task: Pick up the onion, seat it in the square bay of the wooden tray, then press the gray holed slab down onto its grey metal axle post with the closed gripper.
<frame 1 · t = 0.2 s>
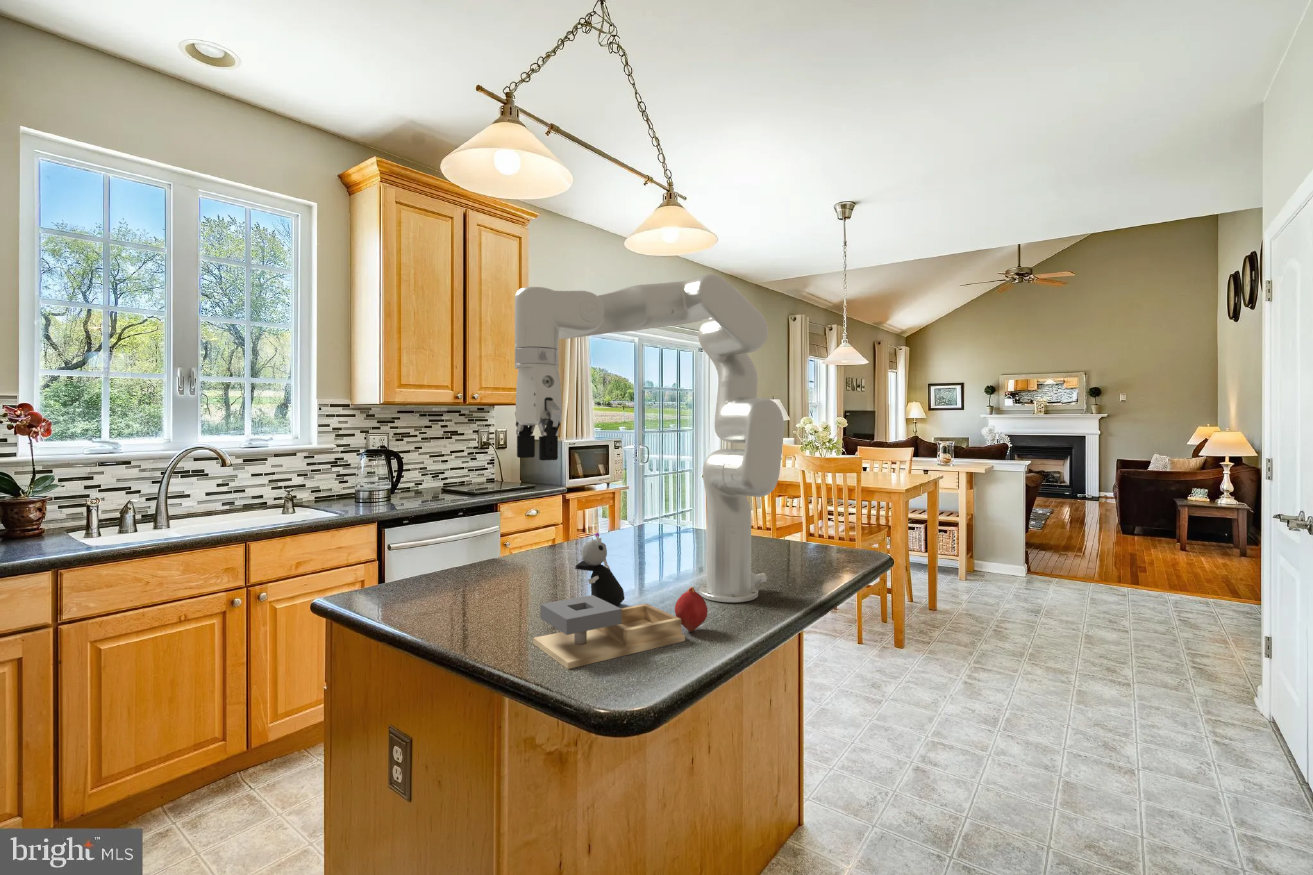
hand: (536, 458, 108), 31 cm above the countertop, fingers open, 9 cm apart
wooden tray: (609, 642, 105), on the countertop
toy: (601, 610, 123), on the countertop
gray holed slab: (580, 613, 102), point 6 cm above the countertop, slide at 0.0 cm
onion: (690, 632, 111), on the countertop
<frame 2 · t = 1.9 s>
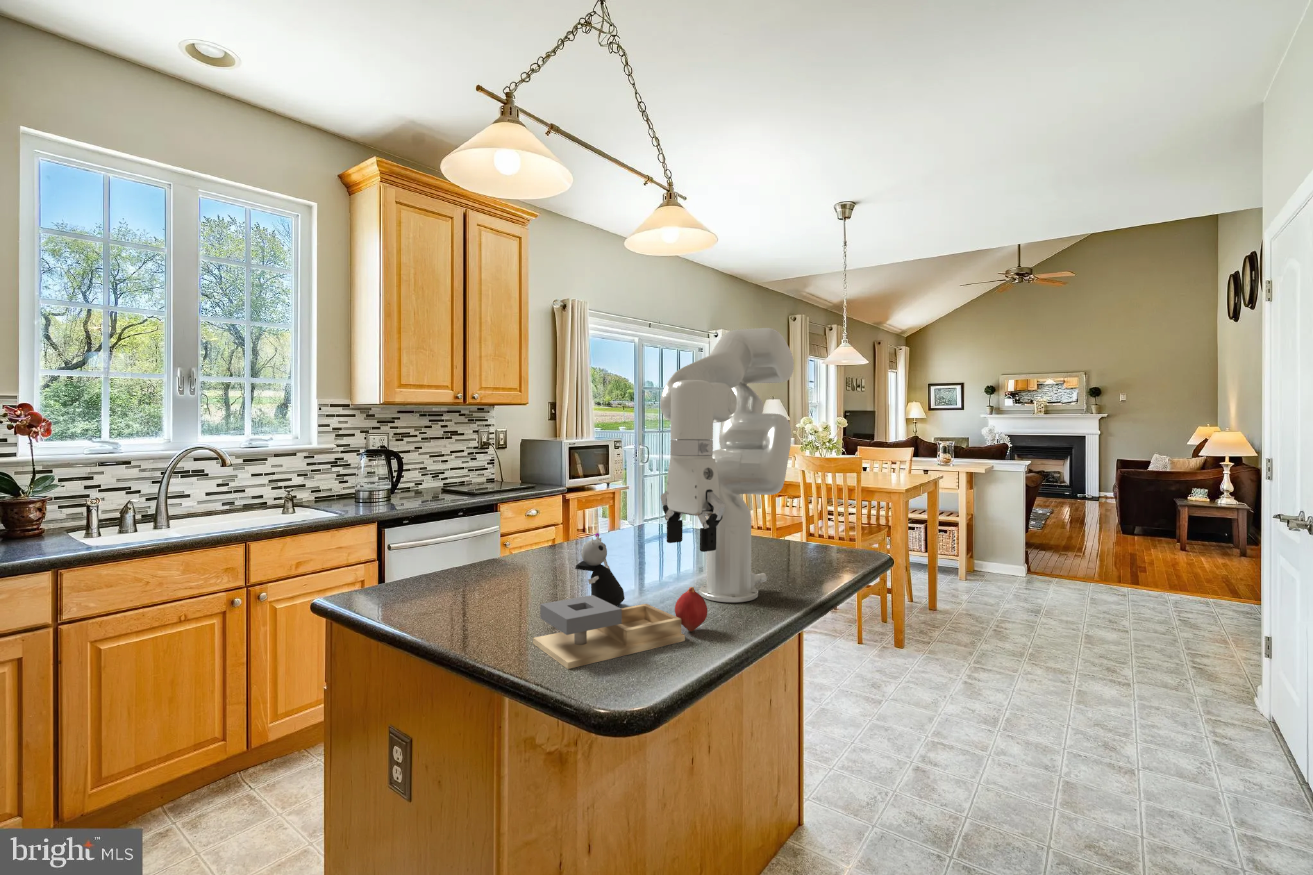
hand: (690, 546, 110), 15 cm above the countertop, fingers open, 9 cm apart
nothing on the countertop moved.
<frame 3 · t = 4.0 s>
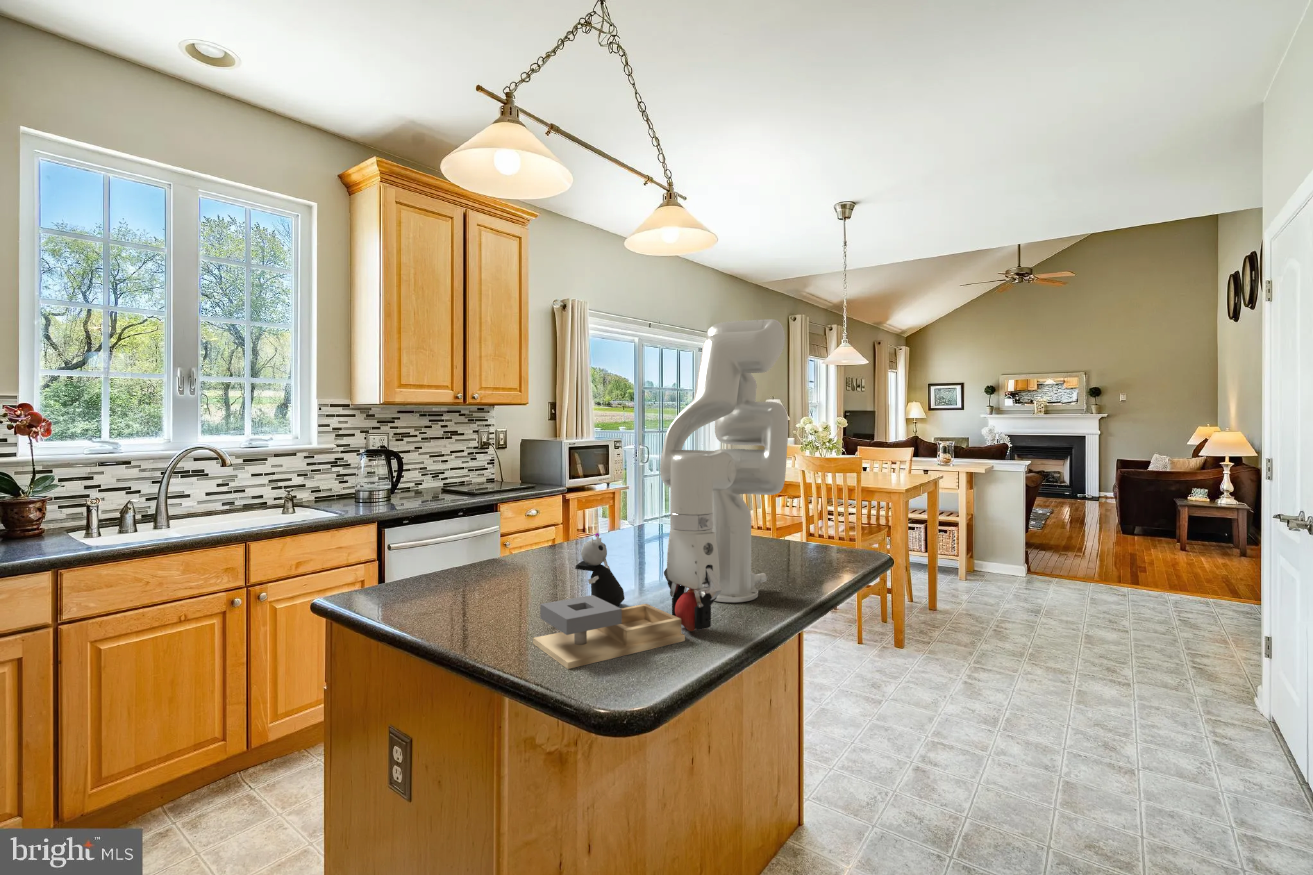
hand: (691, 622, 111), 2 cm above the countertop, fingers closed on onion, 5 cm apart
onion: (690, 632, 111), on the countertop, touching gripper
everything else where it was.
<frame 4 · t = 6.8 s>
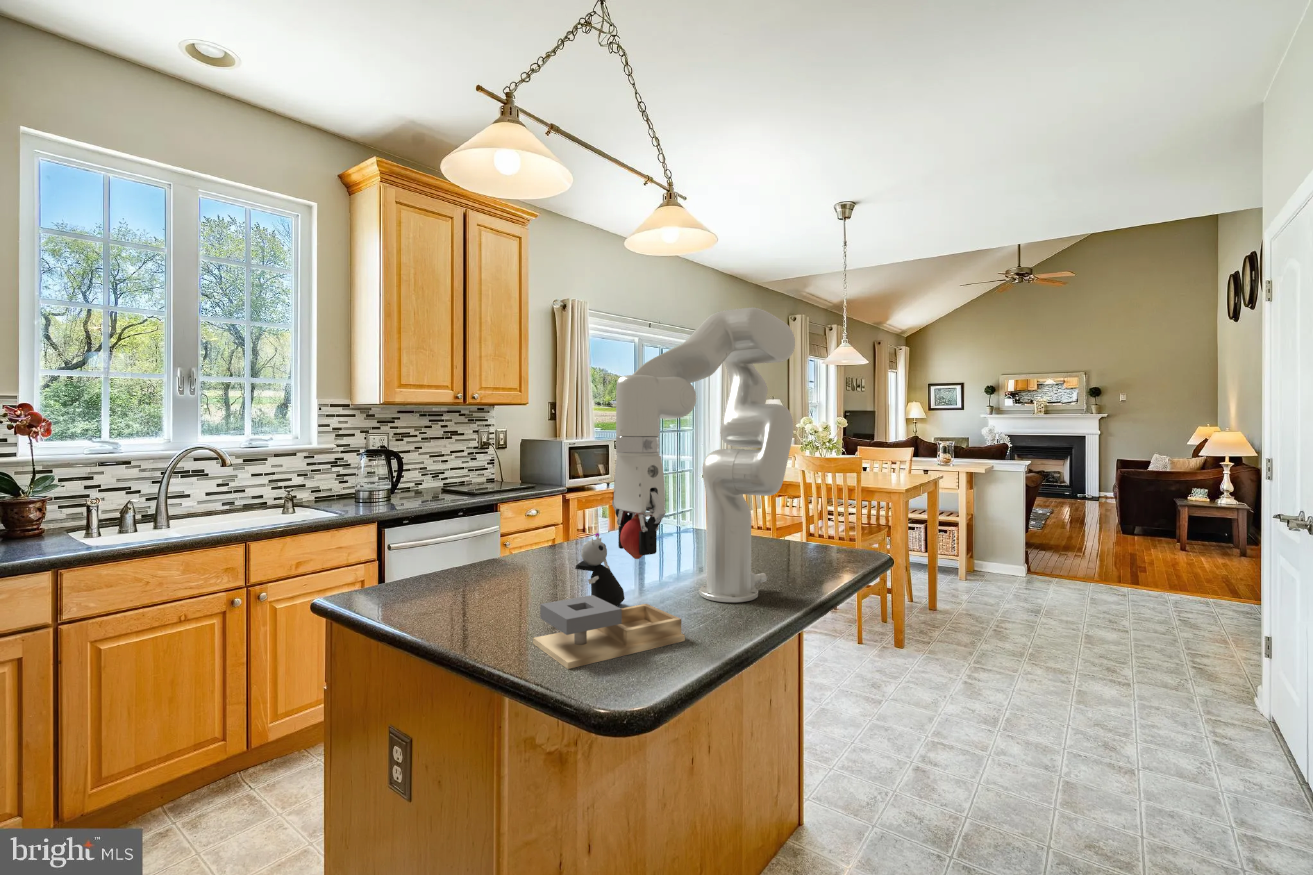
hand: (637, 549, 108), 15 cm above the countertop, fingers closed on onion, 5 cm apart
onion: (636, 560, 108), point 13 cm above the countertop, touching gripper
everything else where it was.
when the fingers open (4 cm above the countertop, at t = 9.5 s): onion drops 1 cm, resting on wooden tray.
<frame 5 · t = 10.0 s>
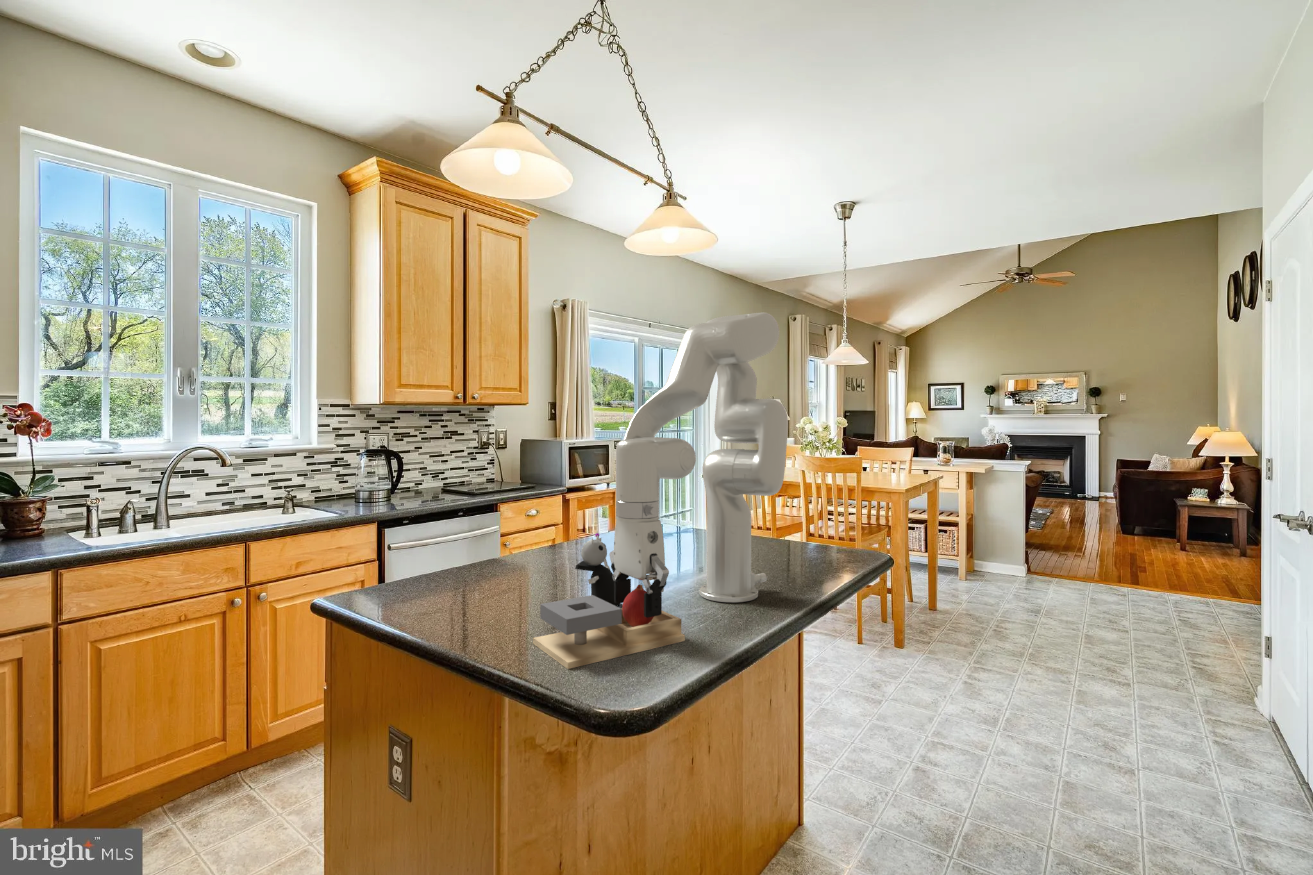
hand: (637, 608, 108), 5 cm above the countertop, fingers open, 9 cm apart
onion: (638, 631, 108), point 1 cm above the countertop, touching wooden tray
everything else where it was.
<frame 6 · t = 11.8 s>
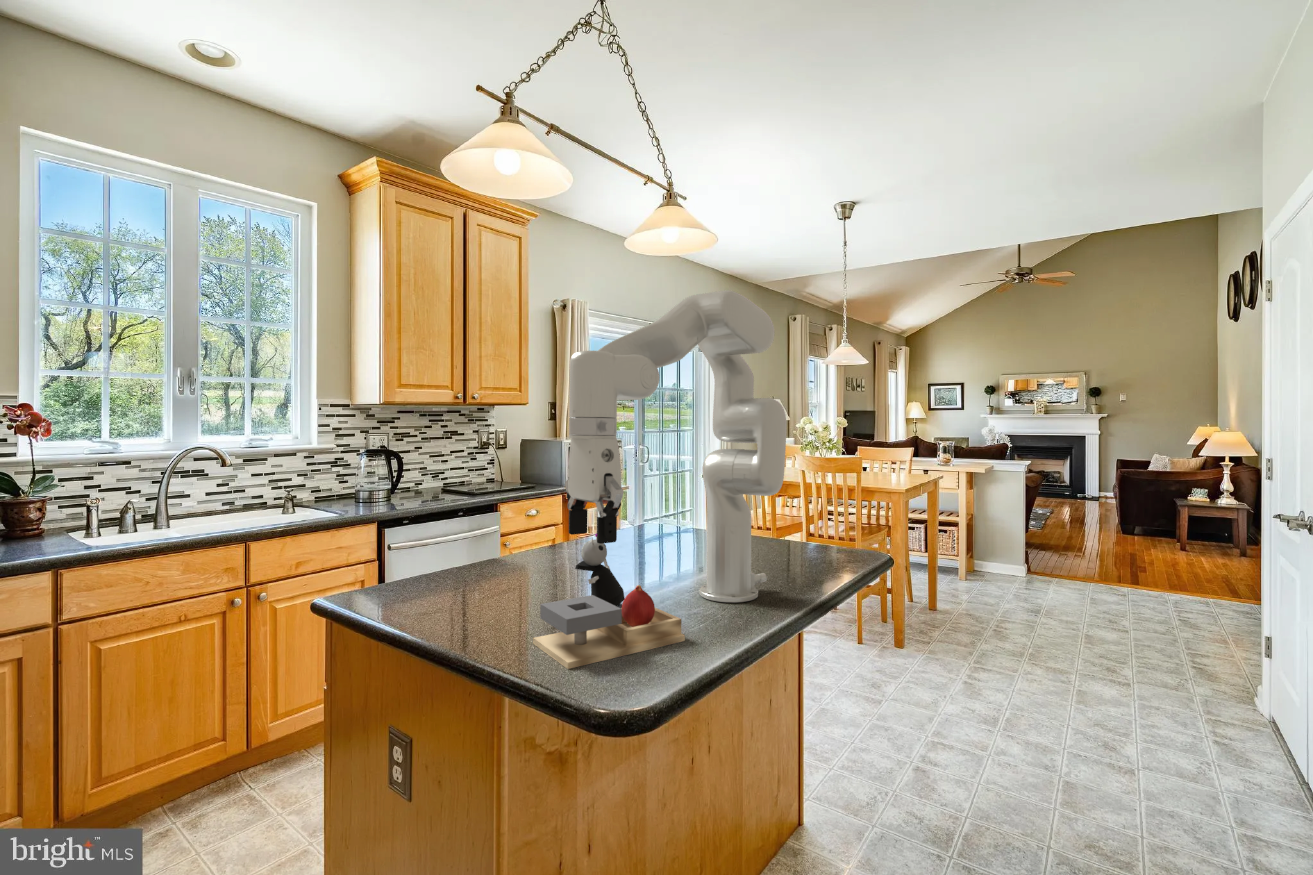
hand: (591, 537, 99), 19 cm above the countertop, fingers open, 9 cm apart
nothing on the countertop moved.
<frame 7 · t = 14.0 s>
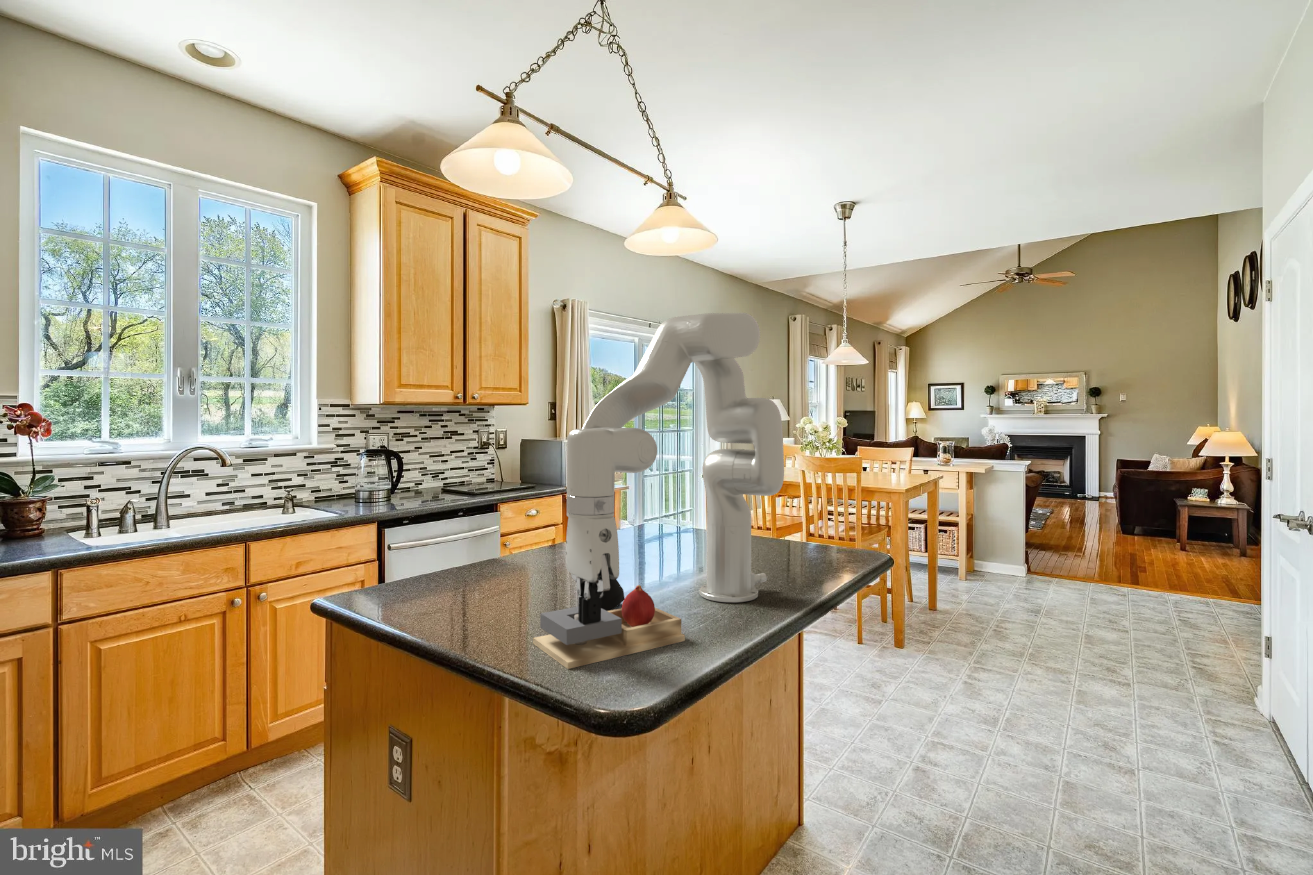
hand: (589, 621, 98), 5 cm above the countertop, fingers closed
gray holed slab: (580, 623, 102), point 4 cm above the countertop, slide at 1.6 cm, touching gripper
everything else where it was.
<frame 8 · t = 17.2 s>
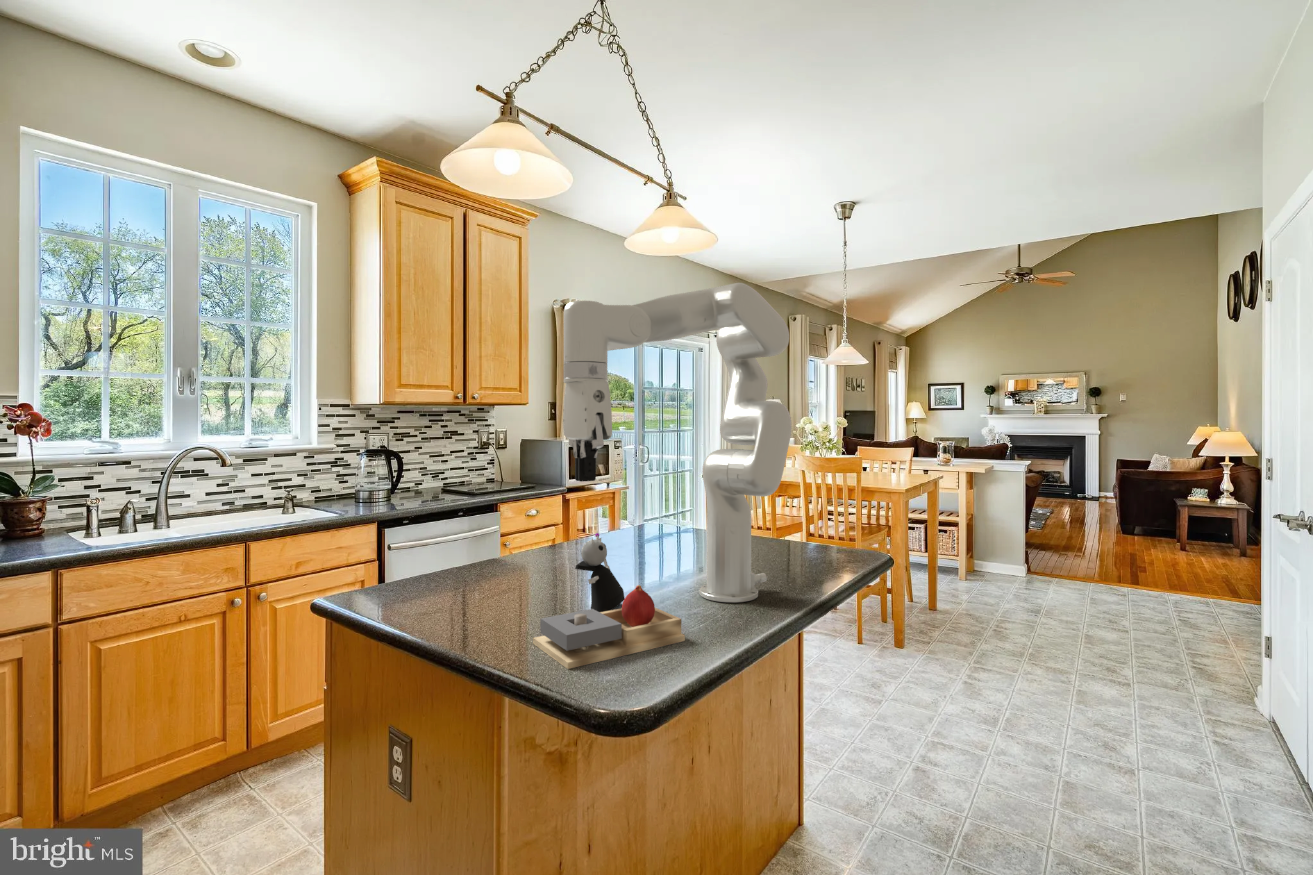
hand: (585, 480, 107), 27 cm above the countertop, fingers closed
gray holed slab: (580, 628, 102), point 3 cm above the countertop, slide at 2.4 cm
everything else where it was.
at the end: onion inside the target area on the wooden tray (0.1 cm from its centre), point 0.8 cm above the wooden tray's base; gray holed slab slide at 2.4 cm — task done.
